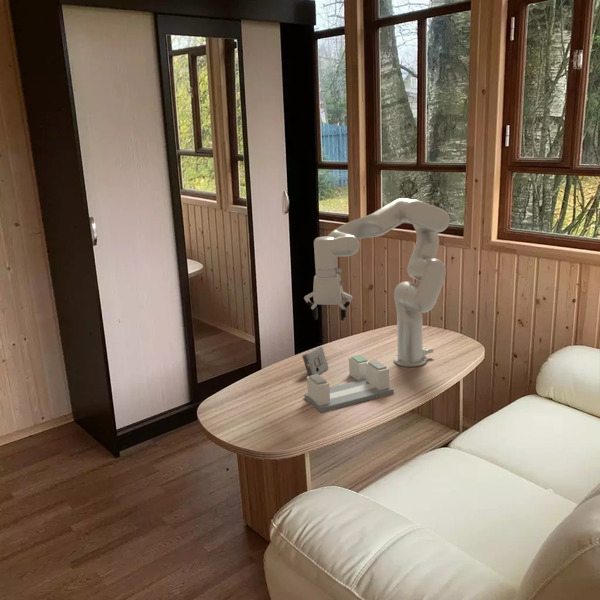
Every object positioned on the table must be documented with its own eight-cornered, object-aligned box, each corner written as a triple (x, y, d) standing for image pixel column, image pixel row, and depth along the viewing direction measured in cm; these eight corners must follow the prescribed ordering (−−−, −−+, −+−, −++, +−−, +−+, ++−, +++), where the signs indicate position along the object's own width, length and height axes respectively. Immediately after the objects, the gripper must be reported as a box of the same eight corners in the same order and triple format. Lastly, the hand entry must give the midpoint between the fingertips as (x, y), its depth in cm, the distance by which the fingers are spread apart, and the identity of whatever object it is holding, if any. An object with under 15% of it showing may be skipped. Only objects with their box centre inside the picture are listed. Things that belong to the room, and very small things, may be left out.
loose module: (359, 372, 228) (359, 353, 226) (370, 379, 221) (370, 360, 219) (349, 374, 226) (348, 356, 224) (359, 382, 219) (359, 363, 217)
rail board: (374, 380, 220) (374, 376, 219) (393, 393, 208) (393, 389, 208) (304, 397, 209) (304, 393, 209) (320, 412, 198) (320, 408, 197)
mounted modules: (376, 378, 217) (375, 358, 215) (389, 387, 210) (389, 367, 207) (308, 395, 207) (306, 375, 205) (319, 405, 199) (318, 384, 197)
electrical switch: (314, 377, 226) (311, 354, 224) (303, 376, 229) (300, 352, 227) (329, 369, 233) (326, 346, 231) (318, 367, 236) (315, 345, 234)
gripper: (353, 269, 211) (355, 316, 216) (305, 270, 215) (308, 315, 220) (349, 274, 204) (351, 322, 209) (299, 275, 208) (303, 322, 213)
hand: (329, 319), depth 214 cm, fingers open, 9 cm apart
